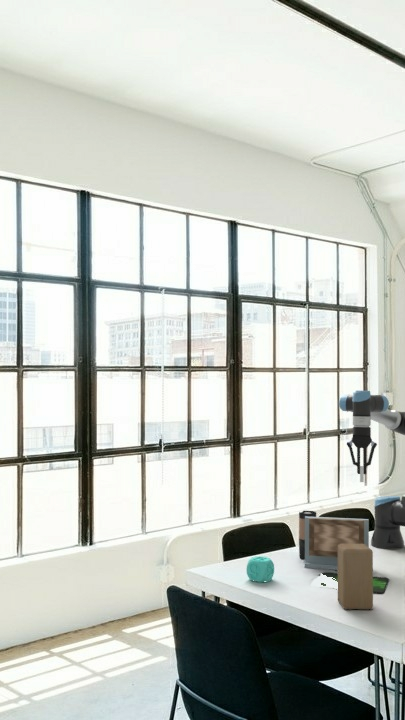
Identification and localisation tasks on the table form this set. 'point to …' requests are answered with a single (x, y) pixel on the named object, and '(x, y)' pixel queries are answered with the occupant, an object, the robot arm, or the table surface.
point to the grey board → (322, 560)
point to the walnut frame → (333, 535)
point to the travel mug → (303, 531)
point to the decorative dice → (260, 569)
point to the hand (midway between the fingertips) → (361, 481)
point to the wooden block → (355, 576)
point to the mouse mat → (378, 582)
